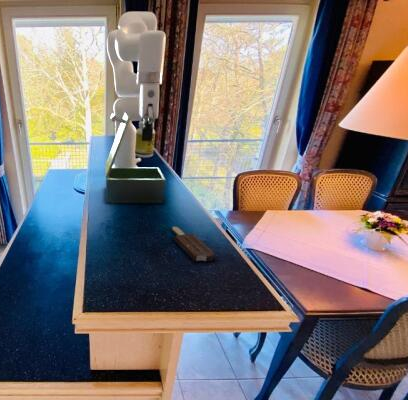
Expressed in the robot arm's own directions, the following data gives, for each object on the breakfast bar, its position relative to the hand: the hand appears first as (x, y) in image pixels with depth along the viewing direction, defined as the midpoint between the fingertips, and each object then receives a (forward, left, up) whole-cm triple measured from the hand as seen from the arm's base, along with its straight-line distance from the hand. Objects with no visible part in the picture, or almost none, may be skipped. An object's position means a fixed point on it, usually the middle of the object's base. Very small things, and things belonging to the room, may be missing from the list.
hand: (145, 137), depth 88 cm
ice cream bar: (+15, +28, -21) cm, 38 cm away
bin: (+2, -2, -21) cm, 22 cm away
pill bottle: (0, 0, -6) cm, 6 cm away
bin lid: (+7, -6, -2) cm, 9 cm away
